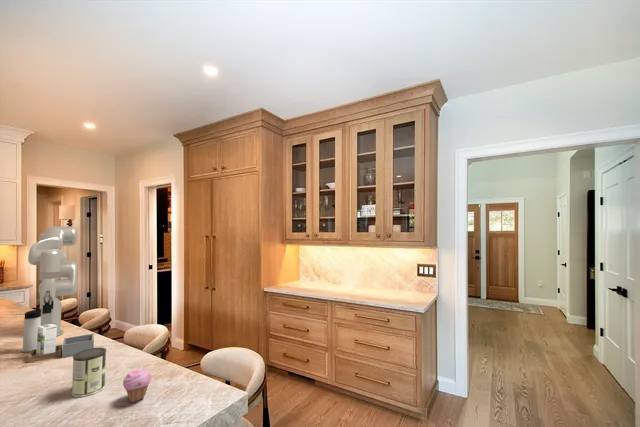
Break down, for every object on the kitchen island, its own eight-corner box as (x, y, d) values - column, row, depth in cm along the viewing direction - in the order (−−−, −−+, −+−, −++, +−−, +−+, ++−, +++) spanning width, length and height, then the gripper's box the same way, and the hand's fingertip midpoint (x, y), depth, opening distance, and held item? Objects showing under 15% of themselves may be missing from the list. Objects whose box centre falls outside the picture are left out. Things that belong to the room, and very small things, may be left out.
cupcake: (119, 398, 112) (120, 370, 112) (146, 389, 118) (147, 363, 118) (126, 408, 106) (127, 378, 106) (153, 399, 112) (154, 370, 112)
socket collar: (31, 355, 151) (31, 349, 151) (62, 349, 157) (62, 344, 158) (27, 363, 141) (27, 357, 141) (60, 357, 148) (60, 351, 148)
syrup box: (35, 357, 148) (36, 326, 149) (50, 352, 153) (51, 323, 154) (40, 359, 145) (42, 328, 146) (56, 355, 151) (57, 324, 151)
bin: (63, 350, 156) (64, 338, 157) (93, 345, 164) (93, 333, 164) (62, 358, 147) (62, 345, 147) (93, 352, 154) (93, 340, 154)
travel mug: (43, 348, 159) (45, 309, 160) (30, 353, 152) (32, 312, 153) (32, 348, 159) (34, 308, 161) (18, 353, 153) (21, 312, 154)
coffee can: (87, 382, 123) (88, 346, 124) (111, 384, 122) (112, 347, 123) (63, 396, 113) (65, 357, 114) (89, 398, 112) (91, 358, 113)
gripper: (41, 274, 156) (39, 309, 155) (37, 278, 142) (35, 316, 141) (60, 273, 161) (59, 307, 159) (58, 277, 147) (56, 313, 146)
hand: (47, 311), depth 150 cm, fingers open, 9 cm apart
